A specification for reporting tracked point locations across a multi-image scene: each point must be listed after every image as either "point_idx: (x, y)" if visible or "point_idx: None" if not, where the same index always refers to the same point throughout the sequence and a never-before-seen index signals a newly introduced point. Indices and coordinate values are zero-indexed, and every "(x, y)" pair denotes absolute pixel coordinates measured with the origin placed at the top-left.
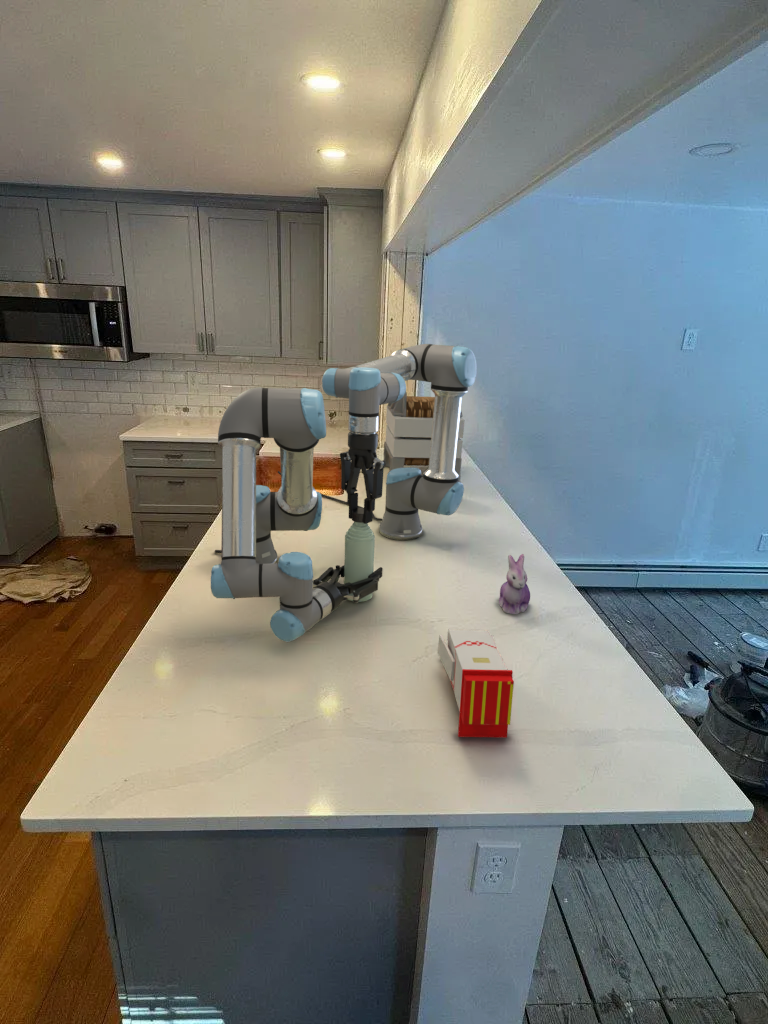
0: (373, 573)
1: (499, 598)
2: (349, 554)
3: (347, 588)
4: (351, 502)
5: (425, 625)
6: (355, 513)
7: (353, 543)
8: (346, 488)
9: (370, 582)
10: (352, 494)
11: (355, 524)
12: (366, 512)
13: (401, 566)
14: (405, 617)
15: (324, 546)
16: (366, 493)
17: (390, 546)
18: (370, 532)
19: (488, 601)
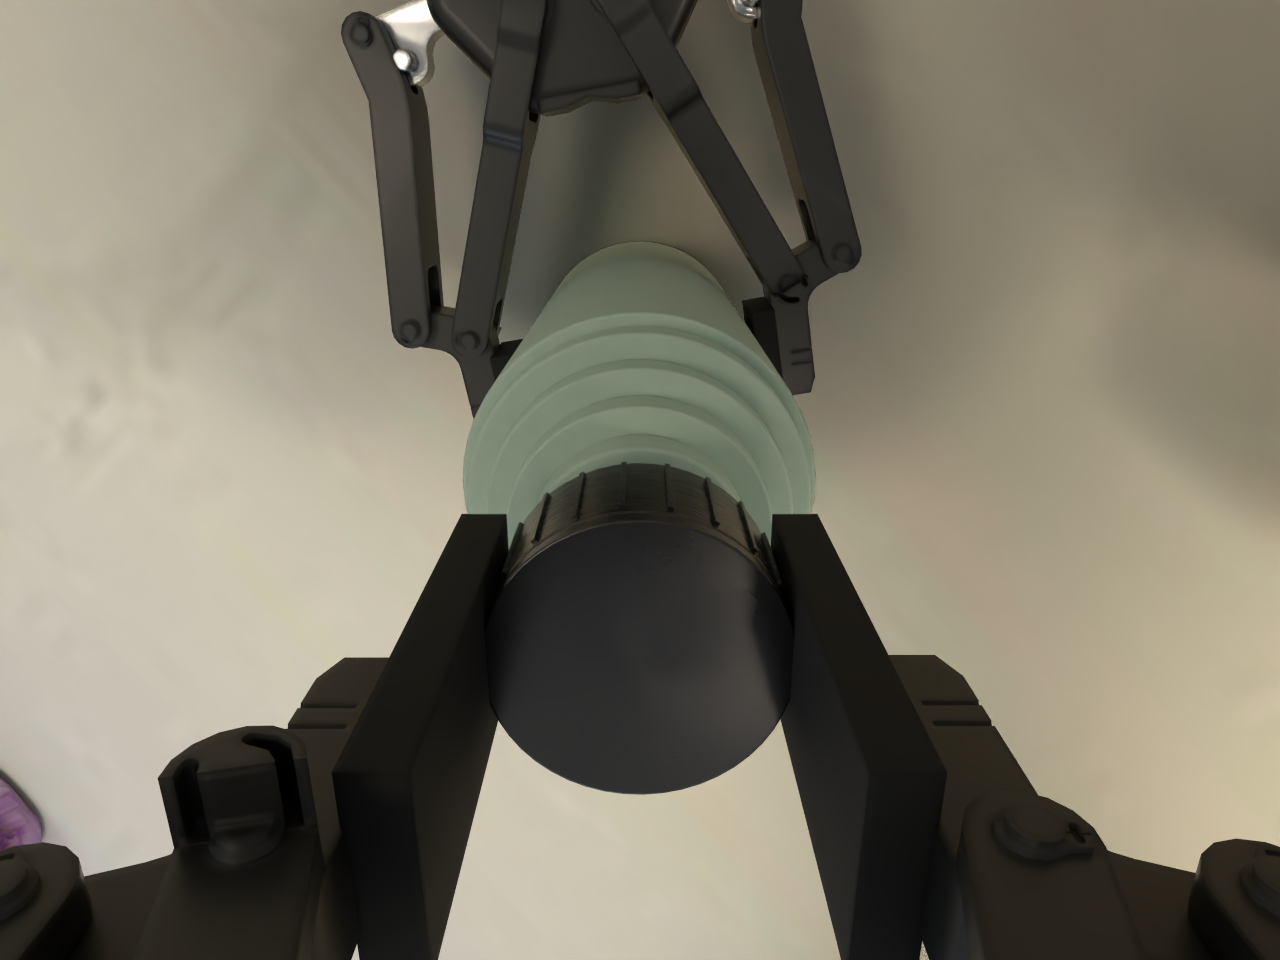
0: None
1: (16, 816)
2: (641, 287)
3: (487, 68)
4: (827, 673)
5: (86, 331)
6: (624, 518)
7: (589, 317)
8: (1167, 928)
9: (422, 281)
10: (894, 839)
11: None
12: (419, 615)
13: (688, 792)
14: (231, 324)
15: (1261, 699)
16: (281, 927)
17: None
18: None
19: (73, 774)
